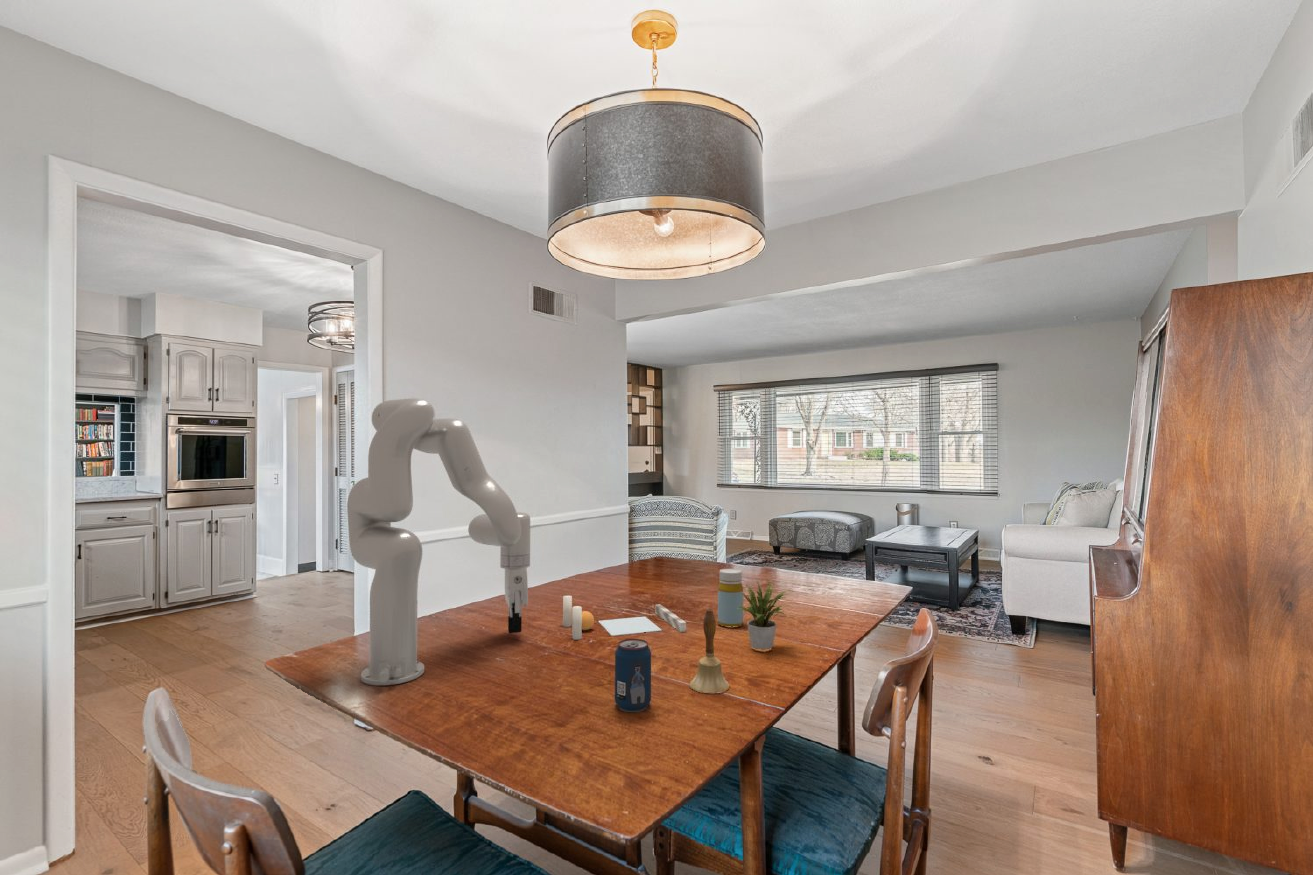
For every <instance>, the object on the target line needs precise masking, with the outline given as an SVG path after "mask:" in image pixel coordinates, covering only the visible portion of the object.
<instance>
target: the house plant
mask: <svg viewBox="0 0 1313 875" xmlns="http://www.w3.org/2000/svg"><path fill="white" fill-rule="evenodd" d="M756 582H757V587H758V590H755V592H756V594H757V595H756V594H755V592H754V590H753V589H752V588H751V587H750V586H749V585H747V584H745V586H746V589H747V591H748V593H749V596H748V595H746V593H744V592H743V593H742V592H741V591H740V592H741V593H742V594H743V598H745V599H746V600H747V601H748V604H749V605H750V606H746V607H745V606H743V607H738V608H737V609H743V611H746V612H748V613H750V614H751V615H752V617H753V619H751V620H748V621H747V629H748V637H749V642H750V647H751V646H752V647H753V648H755V649H761V650H765V649H770V648H772V647H774V641H775V638H776V637H775V636H776V630H777V623H776V622H775V621H773V620H771V619H774V618H775V617H776V616H777V615H778V614H781V615H784V616H786V614H785V612H784V611H782V610H783V609H781V607H782V606H784V604H780V605H777V606H776V603H777V602H779V601H780V600H781V599H785V598H786V595H789V594H787V592H788V593H789V592H791V591H792V589H791V590H790V589H788V590H786V591H785V590H784V591H782V592H781V593H779V594H777V595H776V596H775V597H774V598H773V599H771V597H772V595H773V592H772V591H773V589H774V585H771V582H769V584H768V586H767V588H766V590H765V592H764V595H763V591H762V588H761V585H760V583H759V582H758V581H756ZM780 602H781V601H780ZM787 605H788V604H785V606H787ZM775 613H776V614H775ZM774 614H775V615H774ZM773 615H774V616H773ZM772 616H773V617H772ZM771 617H772V618H771Z"/></svg>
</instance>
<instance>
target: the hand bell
mask: <svg viewBox="0 0 1313 875" xmlns="http://www.w3.org/2000/svg"><path fill="white" fill-rule="evenodd" d="M702 627H703V635H704V637H705V656H703V657H702V658H700V659H699V661H698V668H697V671H696V673H695V674H696V675H695V676H694V678H693V679H692V680H691V681H690V683H689V688H690V689H691V690H692V689H693V690H692V691H694V690H695V691H694V692H696V691H697V693H699V692H700V694H703V693H717V692H721V691H724V690H726V689H728V688H729V686H730V683H729V682H728V681H727V680H726V679H725V677H724V674H723V671H722V662H721V660H720V659H719V658H717V657H715V649H714V648H715V647H714V638H715V635H716V631H717V629H716V628H717V622H716V618H715V615H714V611H713V609H712V608H709V609H708V608H707V609H706V610H705V615H704V617H703V625H702ZM729 689H730V688H729Z"/></svg>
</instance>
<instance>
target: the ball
mask: <svg viewBox="0 0 1313 875" xmlns="http://www.w3.org/2000/svg"><path fill="white" fill-rule="evenodd" d="M594 624H595V618H594V616H593V614H592V613H591V612H590V611H587V610H582V631H589V630H590V629H591V628H592V627H593V626H594Z"/></svg>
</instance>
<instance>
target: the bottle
mask: <svg viewBox="0 0 1313 875" xmlns="http://www.w3.org/2000/svg"><path fill="white" fill-rule="evenodd" d="M742 575H743V572H742V570H740V569H737V568H722V569H719V584H718V586H717V623H718V625H719V626H720V625H723V626H731V627H733V626H740V625H741V626H742V625H744V610H743V609H737V608H738V607H744V595H743V594H742V593H744V586H743V584H742V582H743V580H742V578H743V576H742ZM740 591H741V592H742V593H741V592H740ZM741 626H740V627H741Z"/></svg>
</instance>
